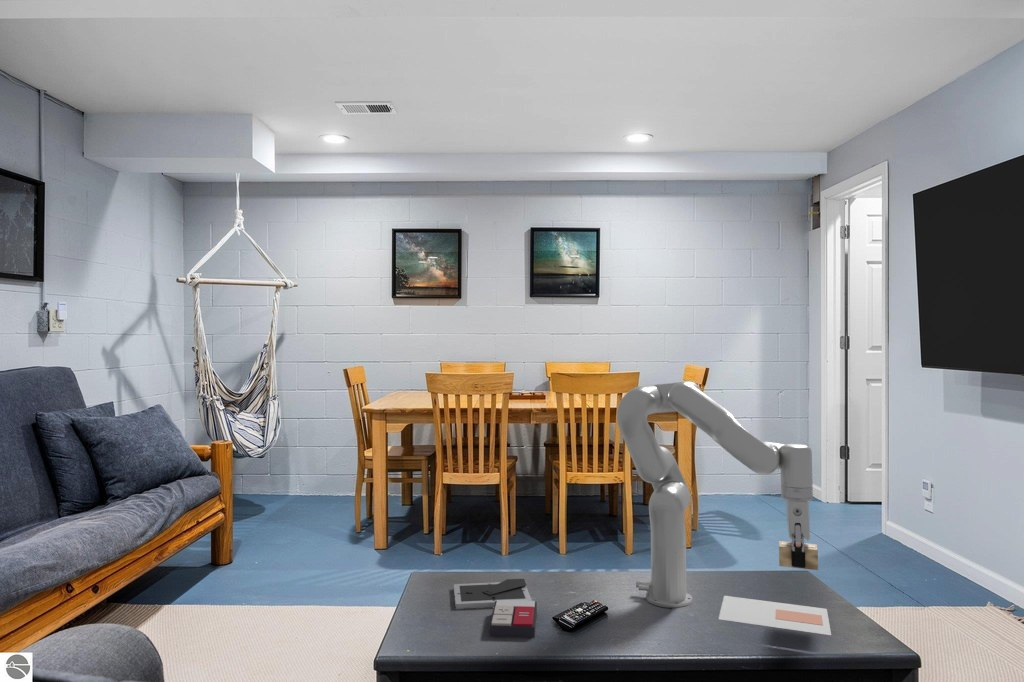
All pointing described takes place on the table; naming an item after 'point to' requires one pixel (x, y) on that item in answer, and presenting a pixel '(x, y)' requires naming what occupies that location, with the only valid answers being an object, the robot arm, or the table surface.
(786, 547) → the card box
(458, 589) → the picture frame
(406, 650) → the table surface
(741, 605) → the mat
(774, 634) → the table surface
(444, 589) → the table surface
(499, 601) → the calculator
